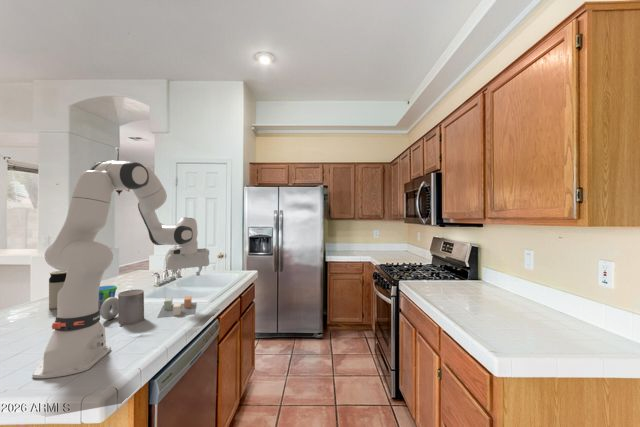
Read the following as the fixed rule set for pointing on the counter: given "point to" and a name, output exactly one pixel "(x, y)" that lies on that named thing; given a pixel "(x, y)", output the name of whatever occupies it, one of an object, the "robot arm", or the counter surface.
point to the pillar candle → (130, 307)
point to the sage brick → (168, 303)
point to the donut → (106, 306)
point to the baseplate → (184, 311)
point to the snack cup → (106, 294)
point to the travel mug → (55, 286)
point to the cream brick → (177, 309)
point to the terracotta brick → (187, 302)
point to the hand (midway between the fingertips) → (188, 276)
